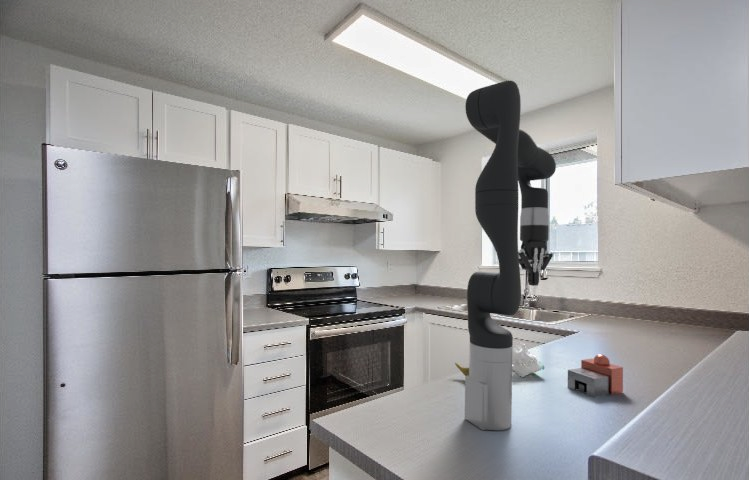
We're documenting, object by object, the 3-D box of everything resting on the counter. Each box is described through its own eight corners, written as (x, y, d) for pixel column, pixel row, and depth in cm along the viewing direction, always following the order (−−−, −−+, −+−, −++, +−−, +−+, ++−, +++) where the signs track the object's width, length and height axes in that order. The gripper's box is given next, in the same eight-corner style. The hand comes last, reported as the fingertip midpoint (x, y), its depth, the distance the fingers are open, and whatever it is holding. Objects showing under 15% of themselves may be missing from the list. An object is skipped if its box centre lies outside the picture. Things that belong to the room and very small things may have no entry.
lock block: (594, 397, 98) (594, 378, 98) (567, 387, 106) (567, 369, 106) (608, 394, 101) (608, 376, 101) (581, 384, 108) (581, 367, 108)
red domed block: (597, 398, 98) (597, 361, 98) (567, 386, 106) (567, 353, 106) (622, 392, 102) (622, 358, 103) (592, 382, 111) (592, 350, 111)
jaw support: (540, 372, 108) (515, 344, 113) (517, 390, 111) (494, 362, 116) (550, 363, 118) (527, 338, 122) (529, 380, 121) (507, 355, 126)
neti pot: (497, 392, 100) (497, 367, 101) (450, 377, 111) (451, 355, 111) (504, 388, 103) (505, 364, 104) (458, 374, 114) (459, 353, 114)
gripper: (527, 222, 99) (526, 286, 99) (561, 225, 105) (561, 286, 104) (506, 224, 106) (505, 284, 106) (540, 226, 112) (539, 284, 111)
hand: (533, 285), depth 105 cm, fingers closed
